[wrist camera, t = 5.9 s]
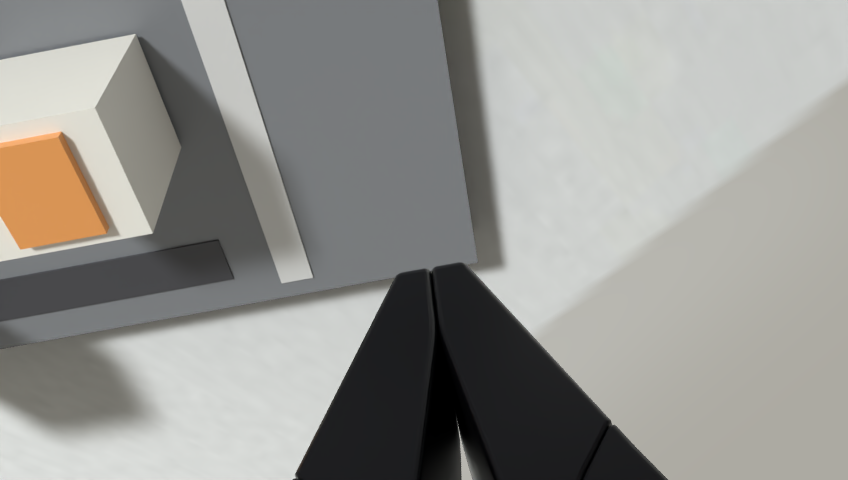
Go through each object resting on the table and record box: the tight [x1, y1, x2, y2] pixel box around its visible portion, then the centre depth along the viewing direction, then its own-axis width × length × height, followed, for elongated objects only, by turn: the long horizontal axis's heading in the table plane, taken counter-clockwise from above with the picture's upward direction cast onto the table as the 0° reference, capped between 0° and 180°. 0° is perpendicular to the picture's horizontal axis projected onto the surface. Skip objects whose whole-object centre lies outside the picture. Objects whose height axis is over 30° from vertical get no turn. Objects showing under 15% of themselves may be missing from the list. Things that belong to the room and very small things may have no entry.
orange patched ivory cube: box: [0, 34, 181, 262], centre depth 15 cm, size 3×3×3 cm
